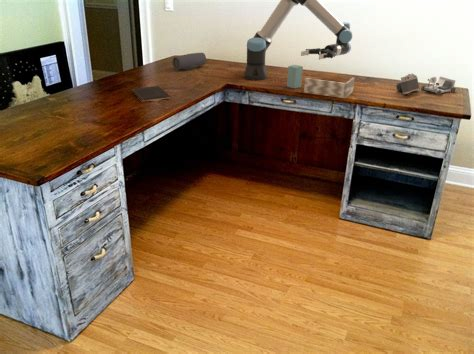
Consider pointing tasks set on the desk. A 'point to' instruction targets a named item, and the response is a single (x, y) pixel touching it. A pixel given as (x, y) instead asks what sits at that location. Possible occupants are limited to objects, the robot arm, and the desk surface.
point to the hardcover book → (150, 93)
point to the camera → (408, 84)
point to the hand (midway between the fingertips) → (310, 55)
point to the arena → (329, 87)
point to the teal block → (294, 76)
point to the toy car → (440, 85)
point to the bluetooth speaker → (189, 61)
